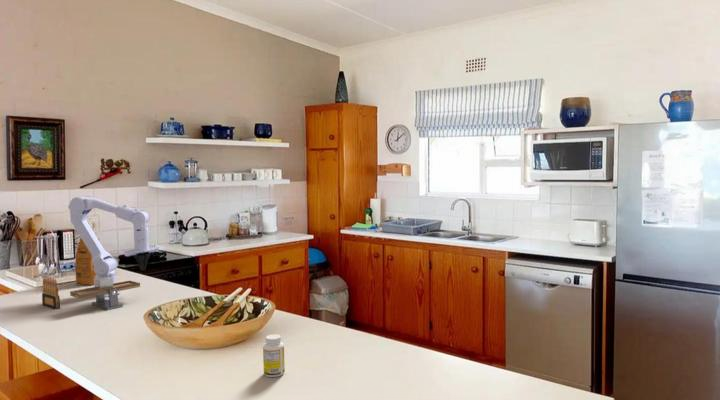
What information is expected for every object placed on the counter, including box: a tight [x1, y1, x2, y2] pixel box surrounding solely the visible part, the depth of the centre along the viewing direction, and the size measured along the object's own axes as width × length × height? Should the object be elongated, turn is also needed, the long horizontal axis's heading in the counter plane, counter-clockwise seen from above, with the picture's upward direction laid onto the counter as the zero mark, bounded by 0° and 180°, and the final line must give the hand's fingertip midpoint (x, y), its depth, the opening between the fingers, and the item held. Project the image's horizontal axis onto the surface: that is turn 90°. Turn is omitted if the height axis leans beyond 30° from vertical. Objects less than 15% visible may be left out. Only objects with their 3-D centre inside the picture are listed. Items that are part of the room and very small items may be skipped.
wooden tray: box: [69, 280, 141, 300], centre depth 208 cm, size 9×24×2 cm, turn 142°
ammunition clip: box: [41, 276, 61, 310], centre depth 208 cm, size 11×2×12 cm, turn 56°
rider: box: [95, 277, 113, 290], centre depth 208 cm, size 4×5×4 cm
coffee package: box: [74, 237, 100, 286], centre depth 248 cm, size 10×12×22 cm
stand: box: [91, 289, 124, 311], centre depth 208 cm, size 13×6×8 cm, turn 52°
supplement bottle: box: [262, 333, 286, 378], centre depth 140 cm, size 6×6×10 cm
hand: (142, 270), depth 226 cm, fingers closed
